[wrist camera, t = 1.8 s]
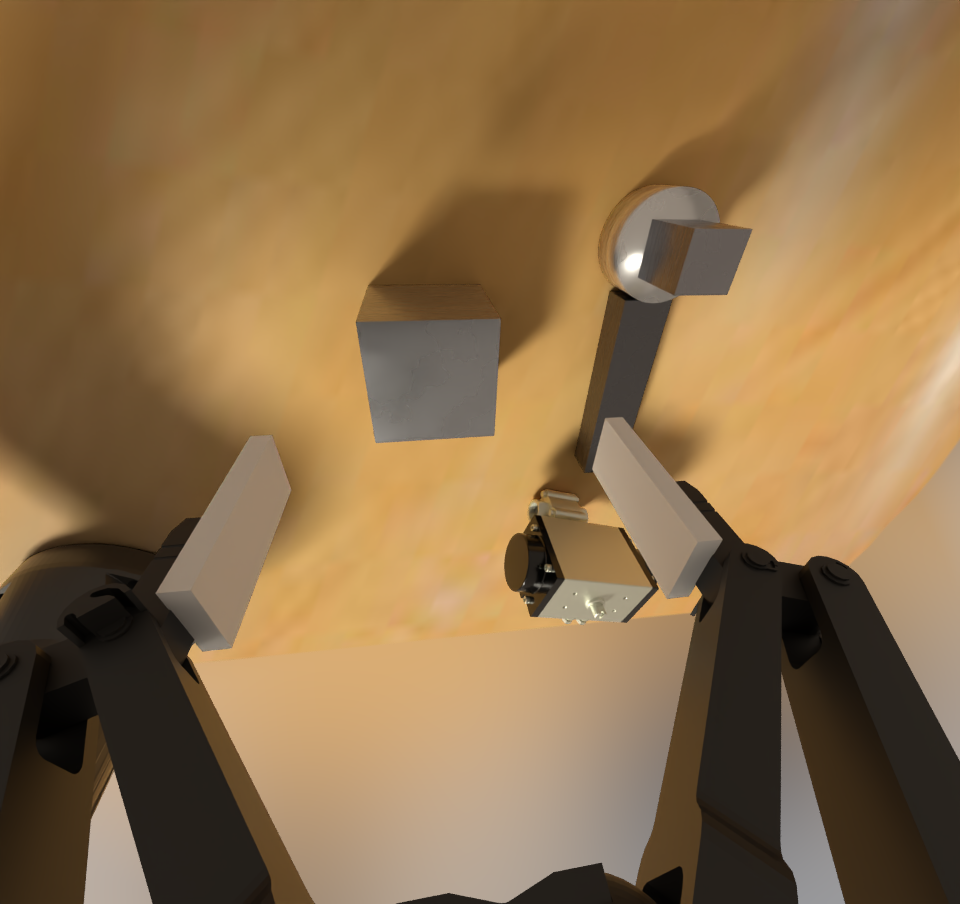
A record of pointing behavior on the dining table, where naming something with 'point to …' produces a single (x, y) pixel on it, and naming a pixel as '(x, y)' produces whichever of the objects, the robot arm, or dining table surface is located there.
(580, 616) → the pneumatic valve
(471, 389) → the gray cube
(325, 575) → the dining table surface
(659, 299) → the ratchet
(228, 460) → the dining table surface
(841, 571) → the robot arm
